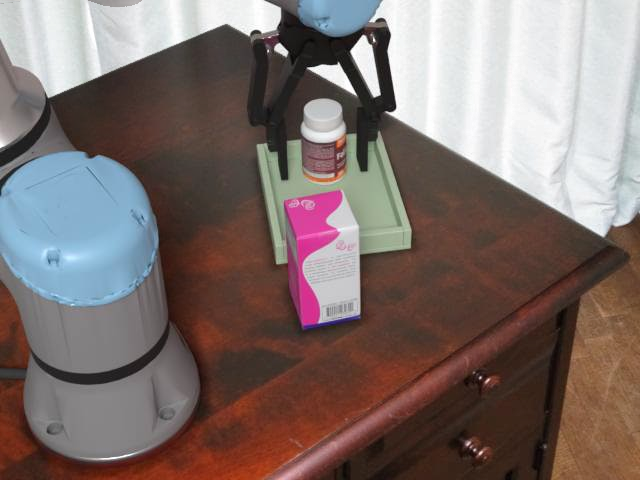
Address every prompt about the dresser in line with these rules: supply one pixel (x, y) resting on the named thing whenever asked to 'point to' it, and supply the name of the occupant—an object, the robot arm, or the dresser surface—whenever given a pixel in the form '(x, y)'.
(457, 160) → the dresser surface
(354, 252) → the supplement box
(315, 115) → the pill bottle
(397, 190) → the tray
